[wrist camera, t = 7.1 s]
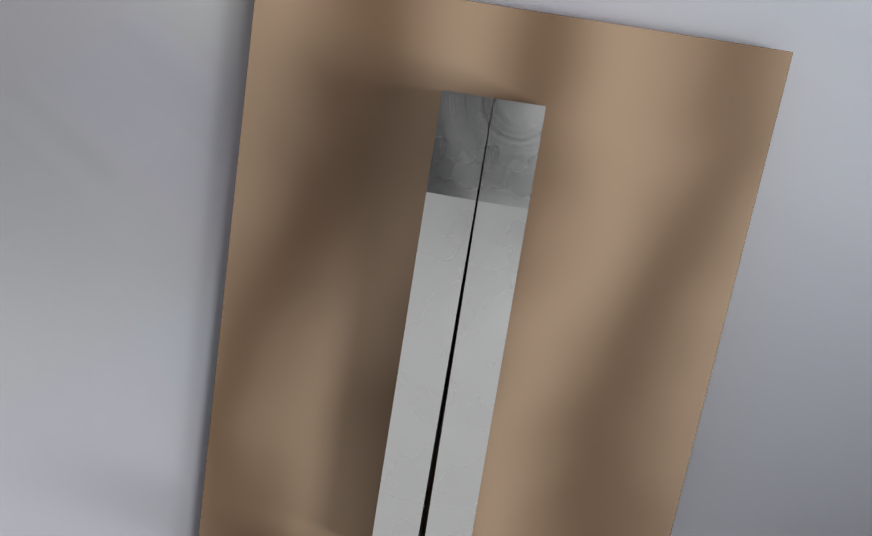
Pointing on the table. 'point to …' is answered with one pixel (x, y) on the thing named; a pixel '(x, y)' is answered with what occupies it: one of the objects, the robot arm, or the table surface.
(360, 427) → the board
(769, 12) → the table surface
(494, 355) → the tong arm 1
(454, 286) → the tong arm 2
